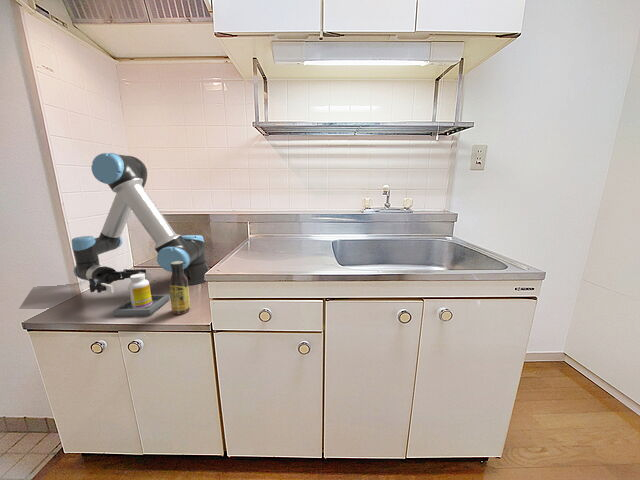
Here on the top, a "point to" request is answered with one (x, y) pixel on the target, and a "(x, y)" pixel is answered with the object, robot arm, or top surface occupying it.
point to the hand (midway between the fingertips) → (132, 283)
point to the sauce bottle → (179, 289)
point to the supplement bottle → (140, 292)
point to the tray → (129, 311)
